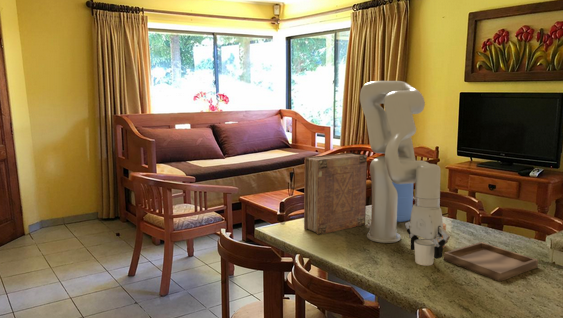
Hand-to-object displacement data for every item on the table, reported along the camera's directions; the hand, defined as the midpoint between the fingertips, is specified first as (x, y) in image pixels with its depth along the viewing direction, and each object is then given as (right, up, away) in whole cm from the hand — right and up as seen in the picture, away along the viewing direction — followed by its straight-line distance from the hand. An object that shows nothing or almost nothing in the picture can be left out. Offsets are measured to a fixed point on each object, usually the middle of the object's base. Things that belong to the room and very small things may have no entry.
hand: (426, 253), depth 143 cm
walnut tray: (+21, -3, 0) cm, 21 cm away
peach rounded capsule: (+9, -1, +17) cm, 19 cm away
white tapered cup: (0, -3, +1) cm, 3 cm away
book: (-25, +2, +40) cm, 47 cm away
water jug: (+3, +5, +53) cm, 53 cm away
